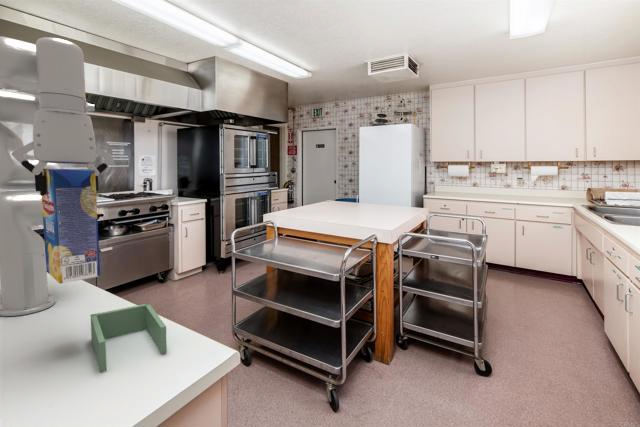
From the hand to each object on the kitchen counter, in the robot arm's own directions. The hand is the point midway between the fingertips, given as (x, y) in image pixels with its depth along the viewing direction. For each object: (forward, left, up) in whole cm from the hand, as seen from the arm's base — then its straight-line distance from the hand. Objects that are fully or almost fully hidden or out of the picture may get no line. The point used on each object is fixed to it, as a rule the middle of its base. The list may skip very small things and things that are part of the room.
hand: (68, 194), depth 70 cm
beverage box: (0, 0, -17) cm, 17 cm away
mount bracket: (+7, +9, -33) cm, 35 cm away
